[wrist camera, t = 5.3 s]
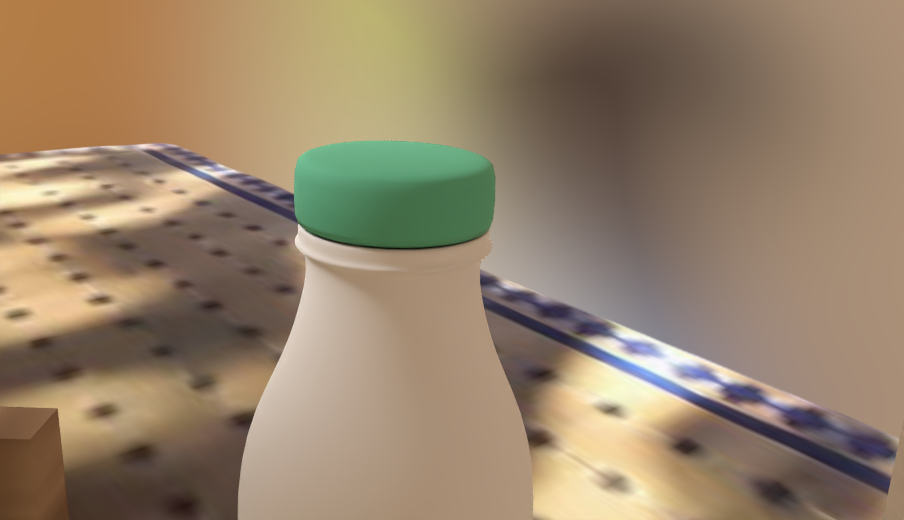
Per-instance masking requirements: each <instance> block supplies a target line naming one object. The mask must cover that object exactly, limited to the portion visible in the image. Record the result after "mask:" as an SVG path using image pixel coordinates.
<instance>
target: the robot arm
mask: <svg viewBox="0 0 904 520" xmlns="http://www.w3.org/2000/svg"><path fill="white" fill-rule="evenodd" d="M883 520H904V423H903V427H902V432H901V436H900V441H899V445H898V450H897V455H896V459H895V464H894V469H893V473H892V478H891V483H890V487H889V492H888V497H887V501H886V506H885V511H884V515H883Z"/></svg>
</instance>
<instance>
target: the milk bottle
mask: <svg viewBox="0 0 904 520" xmlns="http://www.w3.org/2000/svg"><path fill="white" fill-rule="evenodd" d="M294 203H295V214H296V218H297V221H298V223H299V224H298V234H297V236H296V238H295V245H296V247H297V249H298V250H299V251H300V252H301V253H302V254H304V255H305V259H306V275H305V283H304V288H303V293H302V297H301V301H300V305H299V308H298V312H297V315H296V319H295V322H294V325H293V328H292V331H291V334H290V336H289V339H288V341H287V344H286V346H285V348H284V351H283V353H282V355H281V357H280V359H279V361H278V364H277V366H276V368H275V370H274V372H273V374H272V376H271V378H270V380H269V382H268V384H267V386H266V388H265V391H264V393H263V395H262V397H261V400H260V402H259V404H258V407H257V409H256V412H255V414H254V418H253V421H252V424H251V427H250V430H249V433H248V436H247V441H246V445H245V450H244V454H243V459H242V466H241V475H240V483H239V492H238V520H533V485H532V468H531V458H530V452H529V446H528V440H527V436H526V432H525V428H524V425H523V421H522V417H521V413H520V411H519V408H518V405H517V403H516V400H515V397H514V395H513V392H512V390H511V387H510V385H509V383H508V380H507V378H506V375H505V373H504V371H503V368H502V366H501V363H500V361H499V358H498V356H497V353H496V350H495V347H494V344H493V341H492V338H491V335H490V331H489V327H488V324H487V320H486V315H485V311H484V306H483V301H482V296H481V288H480V263H481V260H482V259H484V258H485V257H486V256H487V255H488V254H489V253H490V251H491V248H492V244H491V241H490V240H489V228H490V226H491V223H492V220H493V214H494V205H495V173H494V169H493V165H492V163H491V162H489V161H488V160H487V159H486V158H485V157H483V156H481V155H479V154H476V153H473V152H470V151H467V150H464V149H460V148H455V147H450V146H445V145H438V144H430V143H420V142H406V141H356V142H344V143H337V144H330V145H326V146H321V147H317V148H314V149H311V150H309V151H307V152H305V153H304V154H303V155H301V156H300V157H299V159H298V161H297V165H296V169H295V179H294Z"/></svg>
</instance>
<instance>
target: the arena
mask: <svg viewBox="0 0 904 520" xmlns="http://www.w3.org/2000/svg"><path fill="white" fill-rule="evenodd" d="M0 520H69V514H68V504H67V495H66V485H65V475H64V466H63V456H62V447H61V437H60V428H59V418H58V409H57V408H23V407H0Z"/></svg>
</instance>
